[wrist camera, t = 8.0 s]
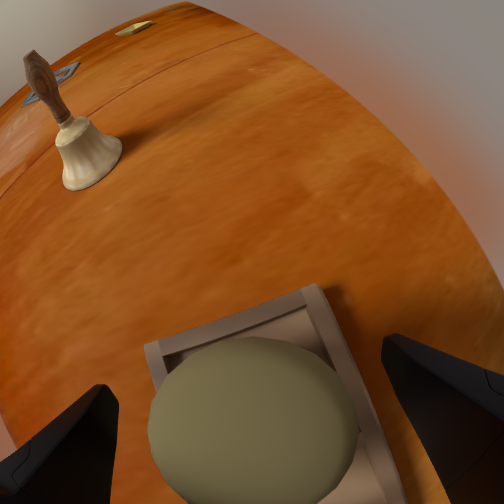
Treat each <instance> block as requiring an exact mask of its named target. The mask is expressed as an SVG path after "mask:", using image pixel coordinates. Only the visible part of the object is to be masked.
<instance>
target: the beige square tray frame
mask: <svg viewBox="0 0 504 504" xmlns="http://www.w3.org/2000/svg"><path fill="white" fill-rule="evenodd" d="M150 23H151V21H147V22H142V23H137V24H133V25H131V26H129V27H127V28H125V29H124V30H122V31H120V32H118V33H116V34H115V35H117V36H120V37H122V36H126V35H131V34H135V33H137V32H138V31H140V30H142V29H144V28H146V27H148V26H149V25H150Z"/></svg>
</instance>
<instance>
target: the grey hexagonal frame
mask: <svg viewBox="0 0 504 504" xmlns="http://www.w3.org/2000/svg"><path fill="white" fill-rule="evenodd" d="M79 64H80V63H79V62H77V63H74V64H71V65H69V66H66V67H64V68H61V69H59V70H58V71H56V72H55V73H54V75H55V78H56V81H57V85H59V84H61V83H62V82H64V81H65V80H66V79H68V78H69V77H71V75H72V74H73V72H74V71H75V69H76V68H77V66H78V65H79ZM63 72H66V73H65V74H64V76H63V77H62V75H60V76H58V77H56V76H57V75H58V74H61V73H63ZM61 77H62V78H61ZM58 78H59V79H58ZM60 78H61V79H60ZM57 79H58V80H57ZM34 94H35V93H34V92H33V91H31V92H30V94H29V95H28V96H27V98H26V99H25V101H24V102H23V103H22V105H21V108H22V107H25V106H27V105H29V104H32V103H34V102H37V101H39V100H40V98H38V97H37V96H36V95H35V96H34Z"/></svg>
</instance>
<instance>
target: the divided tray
mask: <svg viewBox="0 0 504 504" xmlns="http://www.w3.org/2000/svg"><path fill="white" fill-rule="evenodd" d="M251 336H255V337H262V338H269V339H277V340H284V341H287V342H290V343H292V344H294V345H296V346H298V347H301V348H303V349H305V350H307V351H310V352H312V353H314V354H316V355H317V356H318V357H319V358H320V359H321V360H323V361H324V362H325V363H326V364H327V365H328V366H329V367H330V368H332V369H333V370H334V371H335V372H336V373H337V374H338V375H339V376H340V378H341V380H342V382H343V384H344V385H345V387H346V389H347V391H348V392H349V394H350V396H351V398H352V400H353V402H354V404H355V410H356V417H357V423H358V430H359V436H358V441H357V446H356V450H355V455H354V459H353V463H352V464H351V466H350V468H349V469H348V471H347V472H346V474H345V476H344V477H343V479H342V480H341V482H340V483H339V485H338V486H337V488H336V489H334V490H333V491H332V492H331V493H330V494H329V495H327V496H326V497H325V498H324V499H322V500H321V501H320V502H319V503H317V504H408V501H407V498H406V495H405V492H404V488H403V485H402V482H401V479H400V476H399V473H398V470H397V468H396V465H395V462H394V459H393V456H392V453H391V451H390V448H389V445H388V442H387V440H386V437H385V434H384V432H383V429H382V426H381V424H380V421H379V419H378V416H377V414H376V411H375V409H374V406H373V404H372V401H371V399H370V396H369V394H368V391H367V389H366V386H365V384H364V382H363V379H362V377H361V374H360V372H359V370H358V367H357V365H356V363H355V360H354V358H353V356H352V354H351V351H350V349H349V347H348V344H347V342H346V340H345V338H344V335H343V333H342V331H341V329H340V327H339V324H338V322H337V320H336V318H335V316H334V314H333V311H332V309H331V307H330V305H329V303H328V301H327V299H326V297H325V295H324V292H323V290H322V288H321V286H320V285H319V286H317V285H316V283H313V284H311V285H308V286H306V287H303V288H301V289H298V290H296V291H293V292H291V293H289V294H286V295H283V296H281V297H278V298H276V299H273V300H271V301H268V302H266V303H263V304H260V305H258V306H255V307H252V308H250V309H247V310H244V311H242V312H239V313H236V314H234V315H231V316H228V317H225V318H222V319H220V320H217V321H214V322H211V323H208V324H205V325H203V326H200V327H197V328H194V329H191V330H188V331H185V332H182V333H179V334H176V335H173V336H170V337H167V338H163V339H160V340H157V341H154V342H151V343H148V344H144V348H145V349H144V352H145V356H146V359H147V363H148V366H149V370H150V373H151V377H152V380H153V383H154V386H155V390H156V393H157V392H158V390H159V388H160V386H161V385H162V383H163V381H164V379H165V377H166V376H167V375H168V374H169V373H171V372H172V371H173V370H174V369H175V368H176V367H177V366H178V365H180V364H181V363H182V362H183V361H184V360H185V359H186V358H187V357H188V356H190V355H191V354H193V353H195V352H197V351H199V350H202V349H204V348H206V347H208V346H210V345H213V344H215V343H217V342H219V341H222V340H230V339H237V338H244V337H251Z"/></svg>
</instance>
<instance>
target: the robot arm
mask: <svg viewBox="0 0 504 504" xmlns="http://www.w3.org/2000/svg"><path fill="white" fill-rule="evenodd" d="M381 360H382V363H383V365H384V368H385V370H386V372H387V375H388V377H389V379H390V382H391V384H392V387H393V389H394V391H395V394H396V396H397V398H398V400H399V402H400V404H401V406H402V408H403V409H404V411H405V413H406V415H407V417H408V418H409V420H410V422H411V424H412V426H413V428H414V429H415V431H416V433H417V435H418V437H419V439H420V441H421V443H422V445H423V446H424V448H425V450H426V452H427V454H428V456H429V458H430V460H431V462H432V464H433V466H434V468H435V470H436V472H437V474H438V476H439V478H440V481H441V483H442V485H443V487H444V489H445V490H446V491H445V492H446V494H447V496H448V498H449V500H450V503H451V504H504V375H501V374H499V373H496V372H493V371H490V370H488V369H484V368H482V367H480V366H477V365H475V364H472V363H469V362H467V361H464V360H462V359H459V358H457V357H454V356H452V355H449V354H447V353H444V352H442V351H439V350H437V349H434V348H432V347H429V346H427V345H424V344H422V343H420V342H417V341H415V340H412V339H410V338H407V337H405V336H402V335H400V334H398V333H393V334H390V335H387V336H385V337H384V339H383V344H382V352H381ZM118 415H119V403H118V400H117V399H116V397H115V396H114V394H113V393H112V391H111V390H110V388H109V387H108V386H107V385H105V384H97V385H94V386H93V387H92V388H91V389H90V390H88V391H87V392H86V393H85V394H84V395H83V396H81V397H80V398H79V399H78V400H77V401H75V402H74V403H73V404H72V405H71V406H69V407H68V408H67V409H66V410H65V411H63V412H62V413H61V414H60V415H59V416H57V417H56V418H55V419H54V420H53V421H52V422H50V423H49V424H48V425H47V426H46V427H44V428H43V429H42V430H41V431H40V432H38V433H37V434H36V435H35V436H34V437H32V438H31V440H29V441H28V442H26V443H25V444H24V445H23V446H22V447H20V448H19V449H18V450H17V451H15V452H14V453H13V454H11V455H10V456H8V457H7V458H5V459H4V460H3V461H1V462H0V504H110V496H111V485H112V476H113V467H114V460H115V452H116V445H117V431H118Z"/></svg>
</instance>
